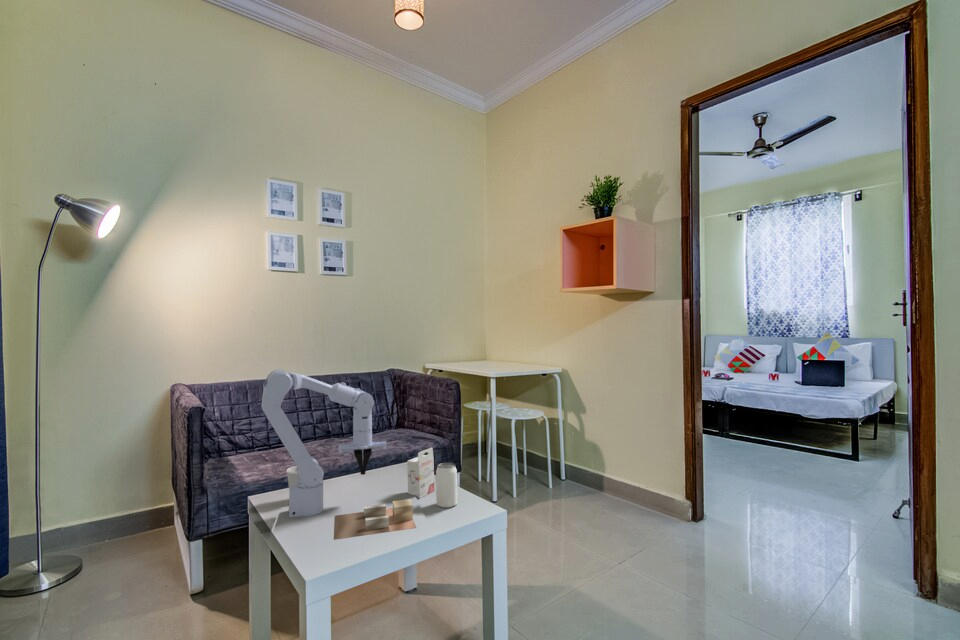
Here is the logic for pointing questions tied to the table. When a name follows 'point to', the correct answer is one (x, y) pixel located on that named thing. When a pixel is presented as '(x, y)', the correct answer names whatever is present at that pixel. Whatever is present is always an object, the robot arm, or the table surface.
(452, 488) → the can
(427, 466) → the ink cartridge box
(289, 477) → the dixie cup
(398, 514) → the maple block
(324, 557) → the table surface
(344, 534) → the board
